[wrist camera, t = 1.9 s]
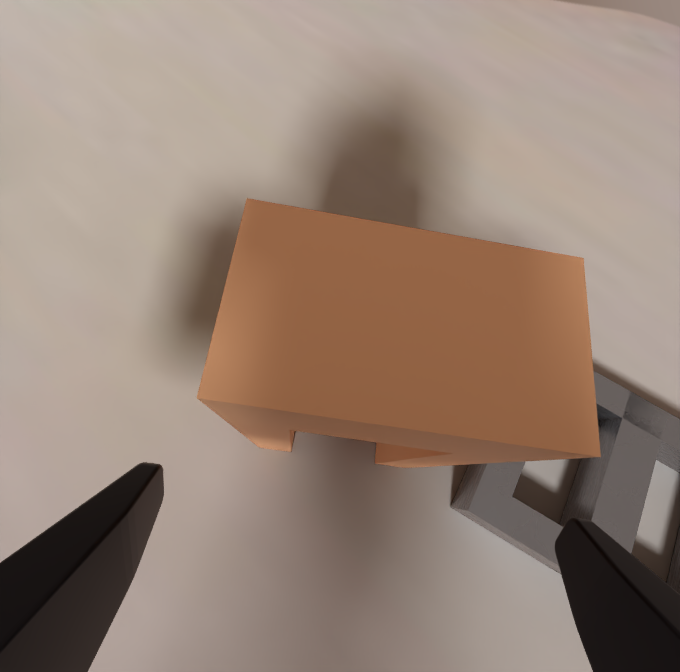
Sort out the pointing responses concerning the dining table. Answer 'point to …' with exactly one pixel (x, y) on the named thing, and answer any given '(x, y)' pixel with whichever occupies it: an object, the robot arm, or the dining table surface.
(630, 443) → the gray slotted base
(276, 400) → the clip
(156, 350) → the dining table surface
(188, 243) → the dining table surface
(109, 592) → the robot arm
